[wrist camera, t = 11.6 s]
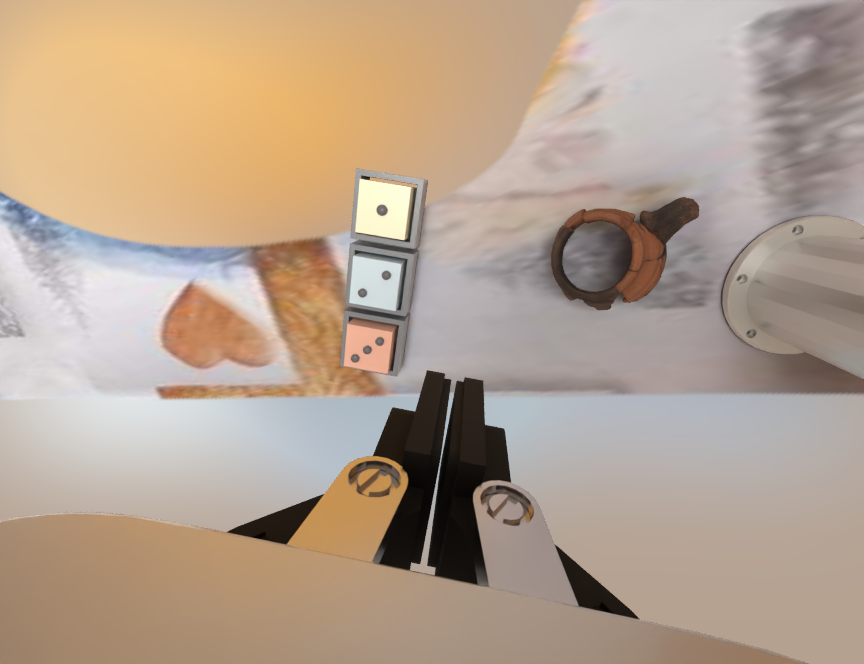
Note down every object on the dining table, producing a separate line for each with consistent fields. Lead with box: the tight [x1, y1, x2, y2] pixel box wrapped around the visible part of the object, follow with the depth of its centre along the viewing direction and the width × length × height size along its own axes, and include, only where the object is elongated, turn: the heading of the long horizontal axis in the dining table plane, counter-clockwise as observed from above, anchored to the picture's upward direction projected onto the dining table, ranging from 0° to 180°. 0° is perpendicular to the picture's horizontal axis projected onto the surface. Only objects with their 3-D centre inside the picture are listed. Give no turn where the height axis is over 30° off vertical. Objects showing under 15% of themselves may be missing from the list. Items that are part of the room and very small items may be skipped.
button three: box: [344, 317, 399, 374], centre depth 40 cm, size 4×4×4 cm
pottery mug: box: [551, 197, 699, 310], centre depth 35 cm, size 12×10×8 cm
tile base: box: [340, 306, 409, 376], centre depth 41 cm, size 6×6×3 cm
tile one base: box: [350, 169, 428, 249], centre depth 37 cm, size 6×6×3 cm
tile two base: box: [345, 240, 418, 316], centre depth 39 cm, size 6×6×3 cm
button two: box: [349, 251, 408, 311], centre depth 38 cm, size 4×4×4 cm
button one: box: [355, 179, 417, 240], centre depth 36 cm, size 4×4×4 cm
